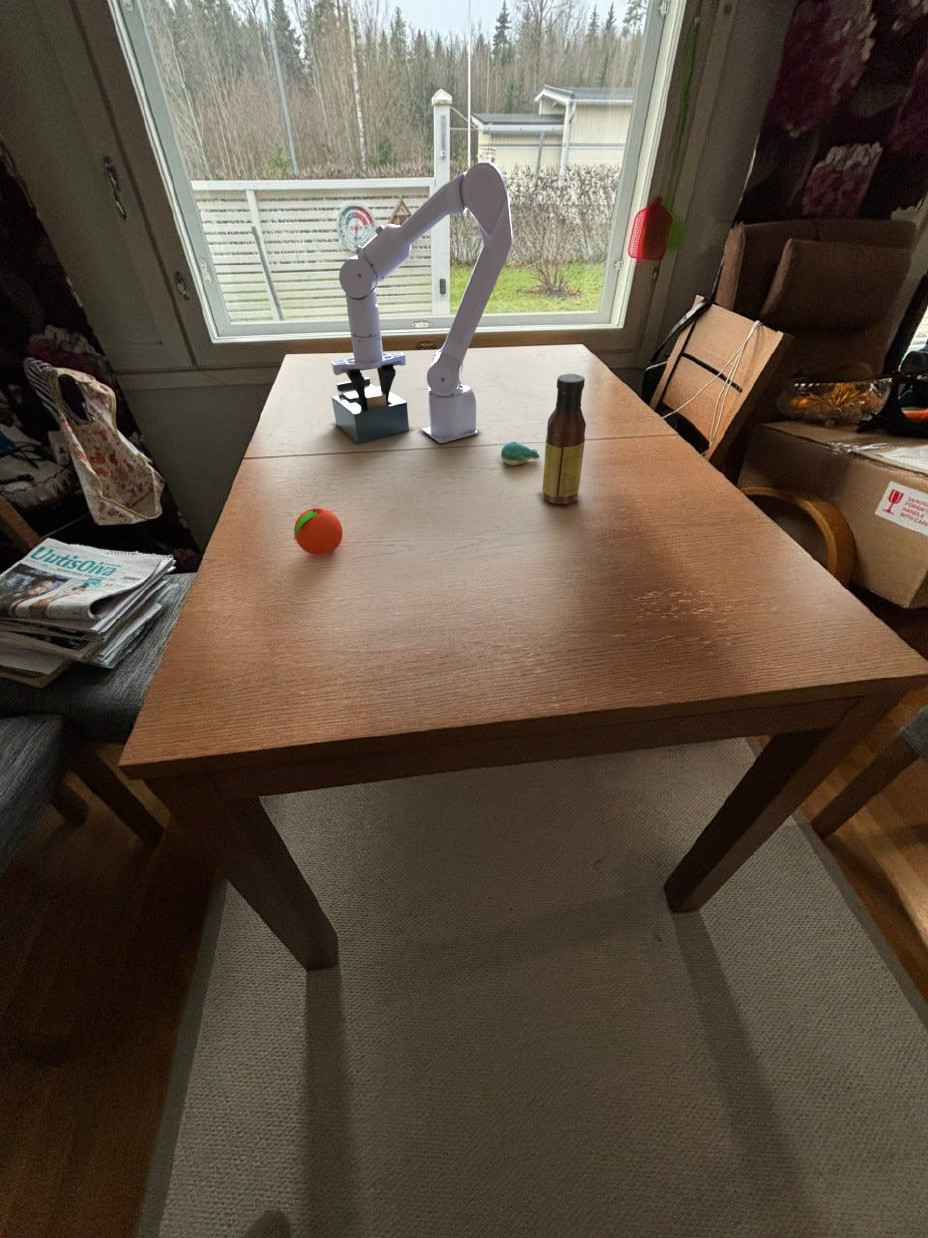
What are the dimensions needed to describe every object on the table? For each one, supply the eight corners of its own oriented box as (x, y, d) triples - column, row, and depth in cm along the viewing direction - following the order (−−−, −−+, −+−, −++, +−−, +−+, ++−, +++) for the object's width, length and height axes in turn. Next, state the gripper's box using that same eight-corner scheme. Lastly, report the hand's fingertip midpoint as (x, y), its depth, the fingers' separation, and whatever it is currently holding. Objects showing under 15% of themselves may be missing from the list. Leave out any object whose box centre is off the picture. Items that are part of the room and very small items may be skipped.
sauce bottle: (579, 492, 89) (600, 373, 76) (573, 509, 85) (593, 386, 71) (543, 486, 91) (557, 368, 77) (535, 503, 87) (548, 381, 73)
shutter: (369, 385, 113) (368, 377, 112) (382, 393, 109) (381, 385, 108) (337, 391, 110) (336, 383, 109) (349, 400, 106) (348, 392, 105)
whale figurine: (498, 455, 100) (499, 436, 98) (534, 453, 101) (536, 434, 98) (503, 468, 96) (504, 449, 93) (541, 466, 97) (543, 447, 94)
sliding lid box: (384, 412, 117) (381, 385, 113) (409, 430, 109) (407, 402, 105) (336, 424, 112) (331, 396, 108) (358, 443, 105) (354, 414, 101)
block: (381, 407, 108) (379, 388, 105) (387, 414, 106) (385, 394, 103) (363, 410, 107) (361, 391, 104) (369, 417, 104) (366, 397, 102)
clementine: (319, 574, 72) (308, 532, 67) (284, 559, 75) (272, 517, 70) (355, 547, 77) (348, 506, 72) (322, 533, 80) (313, 493, 75)
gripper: (333, 343, 91) (346, 418, 100) (408, 333, 96) (413, 406, 105) (324, 334, 96) (336, 406, 105) (396, 325, 100) (402, 395, 110)
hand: (374, 406), depth 105 cm, fingers closed on block, 4 cm apart
